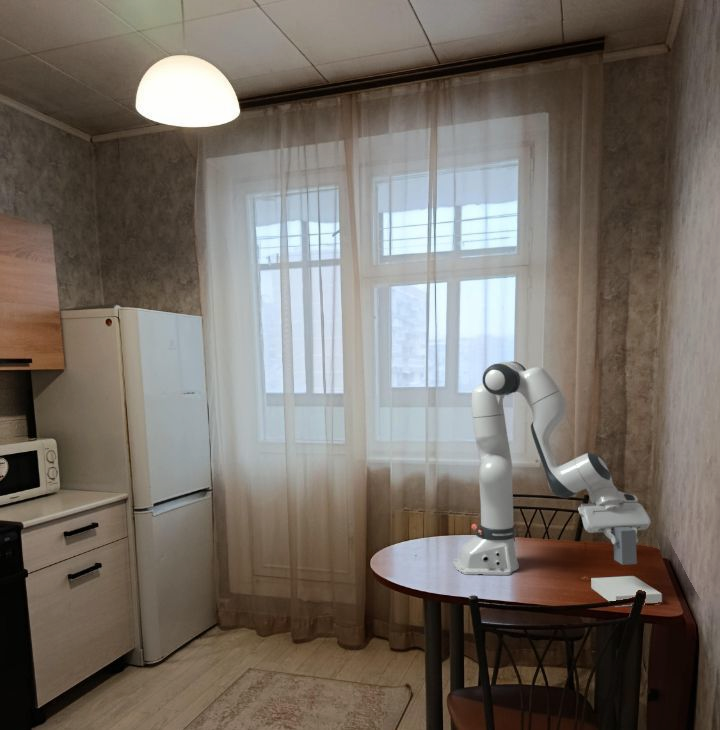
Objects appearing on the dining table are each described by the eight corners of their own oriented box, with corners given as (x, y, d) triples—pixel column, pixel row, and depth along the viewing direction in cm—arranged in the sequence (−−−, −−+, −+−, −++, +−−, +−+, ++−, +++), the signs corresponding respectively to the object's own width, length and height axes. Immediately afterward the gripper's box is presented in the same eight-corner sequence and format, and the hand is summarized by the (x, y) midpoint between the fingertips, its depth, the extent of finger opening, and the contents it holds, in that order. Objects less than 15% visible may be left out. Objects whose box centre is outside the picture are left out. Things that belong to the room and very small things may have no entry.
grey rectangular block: (622, 564, 165) (621, 531, 165) (614, 559, 169) (613, 526, 169) (636, 563, 165) (635, 530, 165) (628, 558, 170) (627, 526, 170)
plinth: (616, 606, 160) (615, 596, 160) (591, 587, 174) (591, 578, 174) (661, 604, 161) (661, 593, 161) (633, 585, 175) (633, 575, 175)
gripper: (579, 498, 173) (596, 539, 164) (641, 495, 175) (661, 535, 165) (572, 509, 178) (589, 549, 168) (633, 506, 180) (653, 546, 170)
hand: (625, 542), depth 167 cm, fingers closed on grey rectangular block, 4 cm apart
